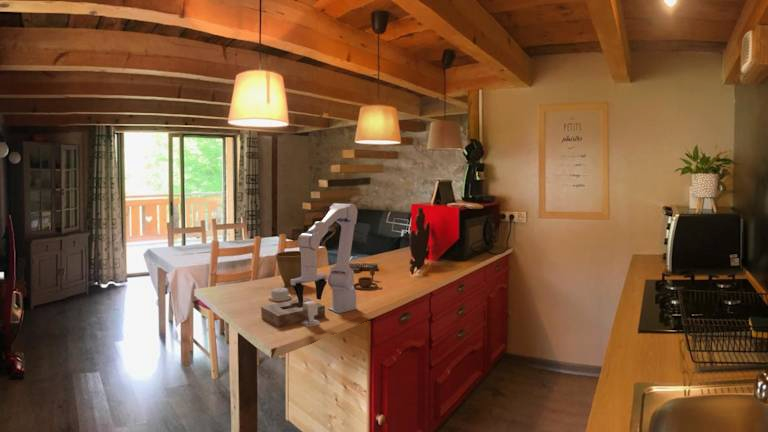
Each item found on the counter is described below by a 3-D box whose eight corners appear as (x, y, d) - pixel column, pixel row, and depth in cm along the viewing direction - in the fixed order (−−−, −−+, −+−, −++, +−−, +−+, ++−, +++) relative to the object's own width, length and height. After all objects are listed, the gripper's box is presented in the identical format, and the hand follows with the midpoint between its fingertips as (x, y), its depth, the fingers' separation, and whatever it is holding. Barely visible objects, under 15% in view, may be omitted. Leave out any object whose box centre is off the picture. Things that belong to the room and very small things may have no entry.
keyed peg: (313, 321, 184) (312, 300, 183) (319, 324, 180) (319, 302, 179) (301, 324, 181) (300, 302, 180) (308, 327, 177) (307, 305, 176)
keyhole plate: (306, 308, 201) (306, 297, 201) (325, 316, 190) (324, 305, 189) (261, 317, 189) (261, 306, 189) (278, 327, 177) (277, 315, 177)
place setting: (343, 287, 237) (343, 276, 236) (371, 280, 252) (371, 269, 251) (369, 293, 225) (369, 281, 225) (397, 285, 240) (397, 274, 240)
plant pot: (283, 280, 250) (282, 250, 249) (310, 281, 248) (309, 251, 246) (272, 287, 236) (270, 255, 234) (301, 288, 233) (300, 256, 232)
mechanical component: (283, 294, 224) (264, 299, 217) (283, 285, 223) (264, 289, 216) (295, 299, 216) (276, 303, 210) (295, 289, 216) (276, 293, 209)
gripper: (320, 261, 186) (321, 295, 187) (286, 266, 177) (287, 302, 178) (330, 264, 180) (330, 299, 182) (295, 269, 171) (296, 306, 173)
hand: (309, 301), depth 180 cm, fingers open, 7 cm apart
